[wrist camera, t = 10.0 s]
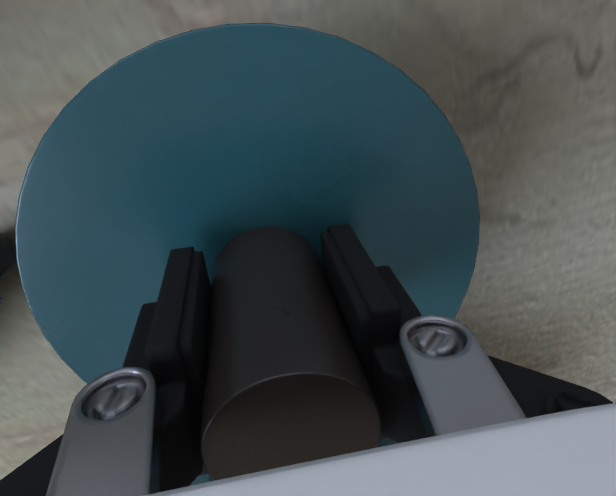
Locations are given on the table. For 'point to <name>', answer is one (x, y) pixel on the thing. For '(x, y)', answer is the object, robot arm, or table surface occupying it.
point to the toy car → (6, 257)
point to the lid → (246, 223)
